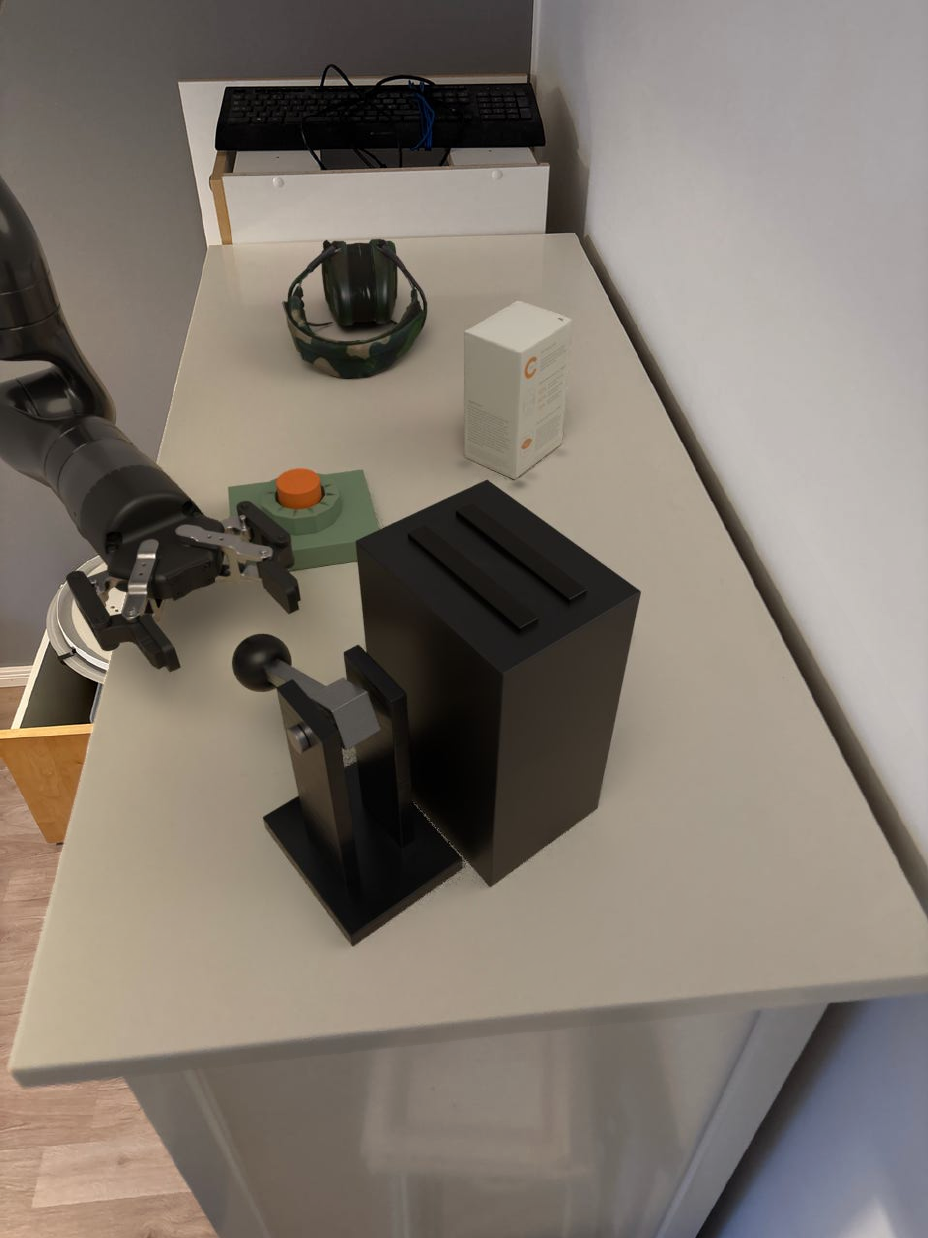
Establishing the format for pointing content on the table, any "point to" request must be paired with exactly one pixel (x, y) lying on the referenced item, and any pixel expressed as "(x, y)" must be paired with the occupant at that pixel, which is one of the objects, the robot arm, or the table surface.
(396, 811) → the lever bracket
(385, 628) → the toaster
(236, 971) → the table surface
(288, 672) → the toaster lever
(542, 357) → the small box
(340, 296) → the headphones
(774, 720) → the table surface
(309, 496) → the button
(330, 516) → the control block
